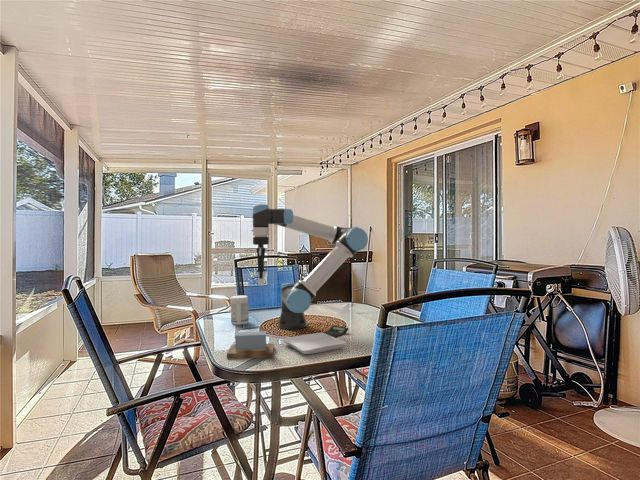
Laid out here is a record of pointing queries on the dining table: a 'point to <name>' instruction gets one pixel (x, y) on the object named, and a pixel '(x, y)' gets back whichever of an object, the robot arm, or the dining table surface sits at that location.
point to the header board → (251, 352)
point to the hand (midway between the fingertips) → (261, 284)
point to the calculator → (336, 331)
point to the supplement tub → (239, 310)
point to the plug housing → (250, 340)
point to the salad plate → (314, 343)
